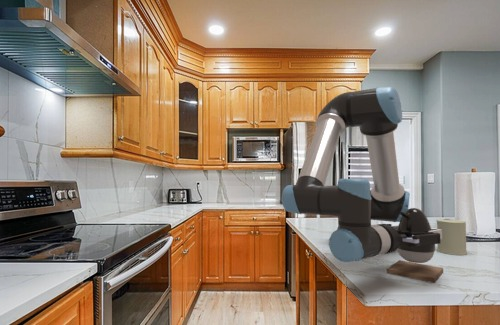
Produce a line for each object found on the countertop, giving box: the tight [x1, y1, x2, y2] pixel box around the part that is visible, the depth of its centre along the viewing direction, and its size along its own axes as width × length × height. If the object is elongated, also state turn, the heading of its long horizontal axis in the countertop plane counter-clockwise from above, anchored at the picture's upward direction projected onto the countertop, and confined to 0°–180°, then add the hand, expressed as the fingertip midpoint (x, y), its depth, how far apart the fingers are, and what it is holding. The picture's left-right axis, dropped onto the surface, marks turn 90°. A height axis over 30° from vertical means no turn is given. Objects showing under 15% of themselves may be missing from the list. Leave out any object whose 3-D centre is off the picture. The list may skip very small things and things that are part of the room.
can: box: [436, 218, 468, 256], centre depth 111 cm, size 9×9×12 cm
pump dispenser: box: [396, 207, 436, 264], centre depth 87 cm, size 10×10×15 cm
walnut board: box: [386, 259, 444, 284], centre depth 87 cm, size 12×12×1 cm
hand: (421, 231), depth 90 cm, fingers closed on pump dispenser, 9 cm apart
